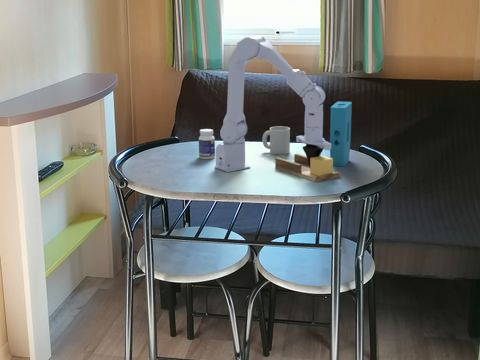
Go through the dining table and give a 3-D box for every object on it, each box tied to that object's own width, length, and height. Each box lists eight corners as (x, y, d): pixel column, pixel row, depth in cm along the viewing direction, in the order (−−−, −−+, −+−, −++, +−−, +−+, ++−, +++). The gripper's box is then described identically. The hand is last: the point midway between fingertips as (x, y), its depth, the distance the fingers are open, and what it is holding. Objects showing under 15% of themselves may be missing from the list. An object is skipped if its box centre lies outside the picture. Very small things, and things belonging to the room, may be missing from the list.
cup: (288, 155, 241) (288, 130, 239) (260, 154, 243) (260, 130, 241) (290, 150, 248) (291, 126, 246) (264, 149, 250) (263, 125, 248)
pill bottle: (214, 159, 237) (214, 131, 234) (198, 159, 237) (197, 131, 234) (215, 155, 242) (214, 128, 239) (199, 155, 242) (198, 128, 240)
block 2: (343, 167, 224) (345, 108, 219) (328, 166, 226) (330, 107, 220) (350, 158, 235) (352, 102, 229) (336, 157, 237) (337, 101, 231)
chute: (317, 182, 208) (317, 171, 207) (275, 168, 225) (275, 157, 224) (339, 177, 213) (340, 166, 212) (297, 163, 230) (297, 153, 229)
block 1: (320, 176, 210) (321, 161, 208) (310, 173, 214) (310, 157, 212) (332, 173, 213) (333, 158, 211) (321, 170, 217) (322, 155, 215)
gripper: (339, 128, 209) (337, 170, 213) (308, 120, 220) (307, 161, 224) (321, 131, 205) (320, 174, 209) (291, 123, 216) (291, 164, 220)
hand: (312, 167), depth 216 cm, fingers closed
